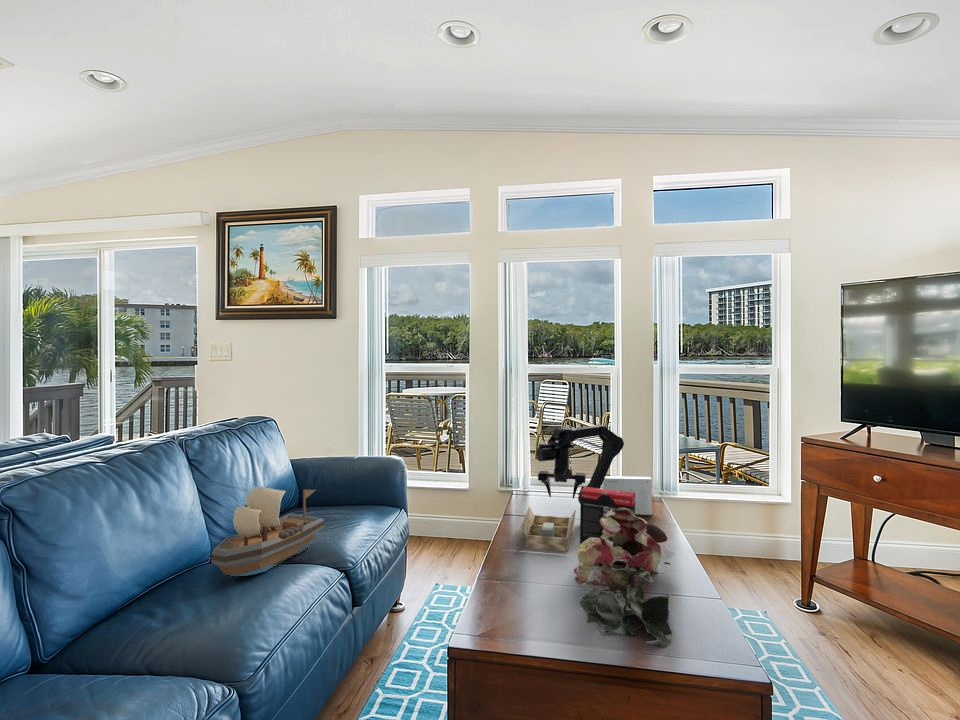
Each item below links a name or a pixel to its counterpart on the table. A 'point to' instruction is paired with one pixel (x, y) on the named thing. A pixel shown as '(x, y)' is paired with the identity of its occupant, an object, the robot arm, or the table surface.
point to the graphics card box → (600, 508)
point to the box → (548, 529)
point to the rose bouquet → (622, 577)
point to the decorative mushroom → (656, 533)
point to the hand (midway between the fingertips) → (561, 497)
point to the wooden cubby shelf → (537, 541)
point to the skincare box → (633, 490)
